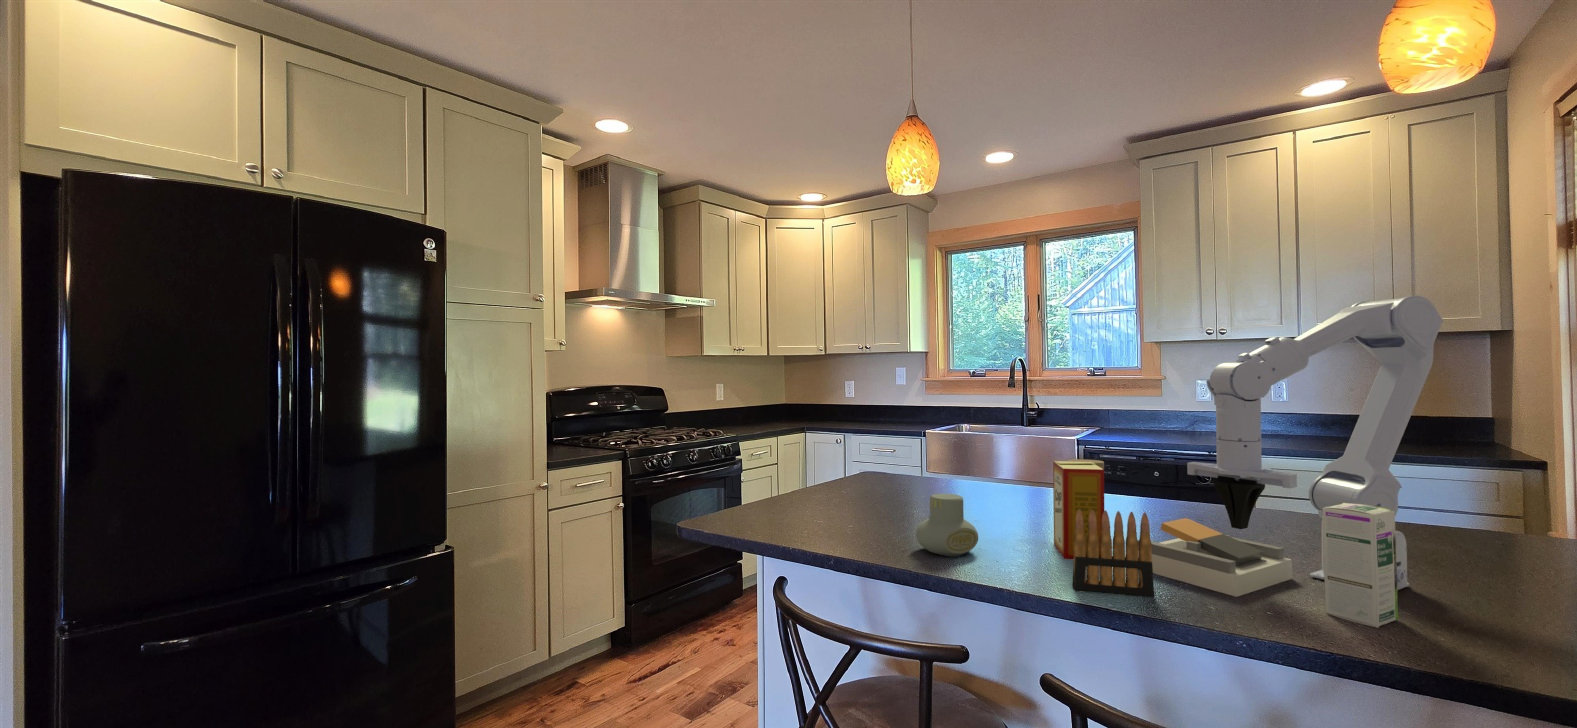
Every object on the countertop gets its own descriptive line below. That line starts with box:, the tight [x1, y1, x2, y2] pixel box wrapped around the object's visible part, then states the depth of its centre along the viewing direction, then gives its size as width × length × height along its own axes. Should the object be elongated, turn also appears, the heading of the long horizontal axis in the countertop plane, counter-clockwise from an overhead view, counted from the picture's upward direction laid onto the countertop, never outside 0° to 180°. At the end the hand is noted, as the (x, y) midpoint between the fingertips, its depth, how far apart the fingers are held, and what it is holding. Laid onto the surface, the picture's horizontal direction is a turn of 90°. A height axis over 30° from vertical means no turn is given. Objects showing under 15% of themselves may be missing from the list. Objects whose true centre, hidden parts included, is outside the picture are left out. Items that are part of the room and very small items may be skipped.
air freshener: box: [915, 493, 979, 558], centre depth 117 cm, size 11×8×10 cm
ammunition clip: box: [1071, 509, 1155, 599], centre depth 95 cm, size 11×2×12 cm, turn 74°
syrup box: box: [1322, 503, 1399, 629], centre depth 85 cm, size 6×6×14 cm
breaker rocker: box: [1159, 517, 1263, 565], centre depth 104 cm, size 12×7×1 cm, turn 29°
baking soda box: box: [1052, 460, 1105, 560], centre depth 116 cm, size 10×6×16 cm
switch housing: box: [1137, 534, 1293, 598], centre depth 104 cm, size 16×16×6 cm
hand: (1239, 527), depth 100 cm, fingers closed
